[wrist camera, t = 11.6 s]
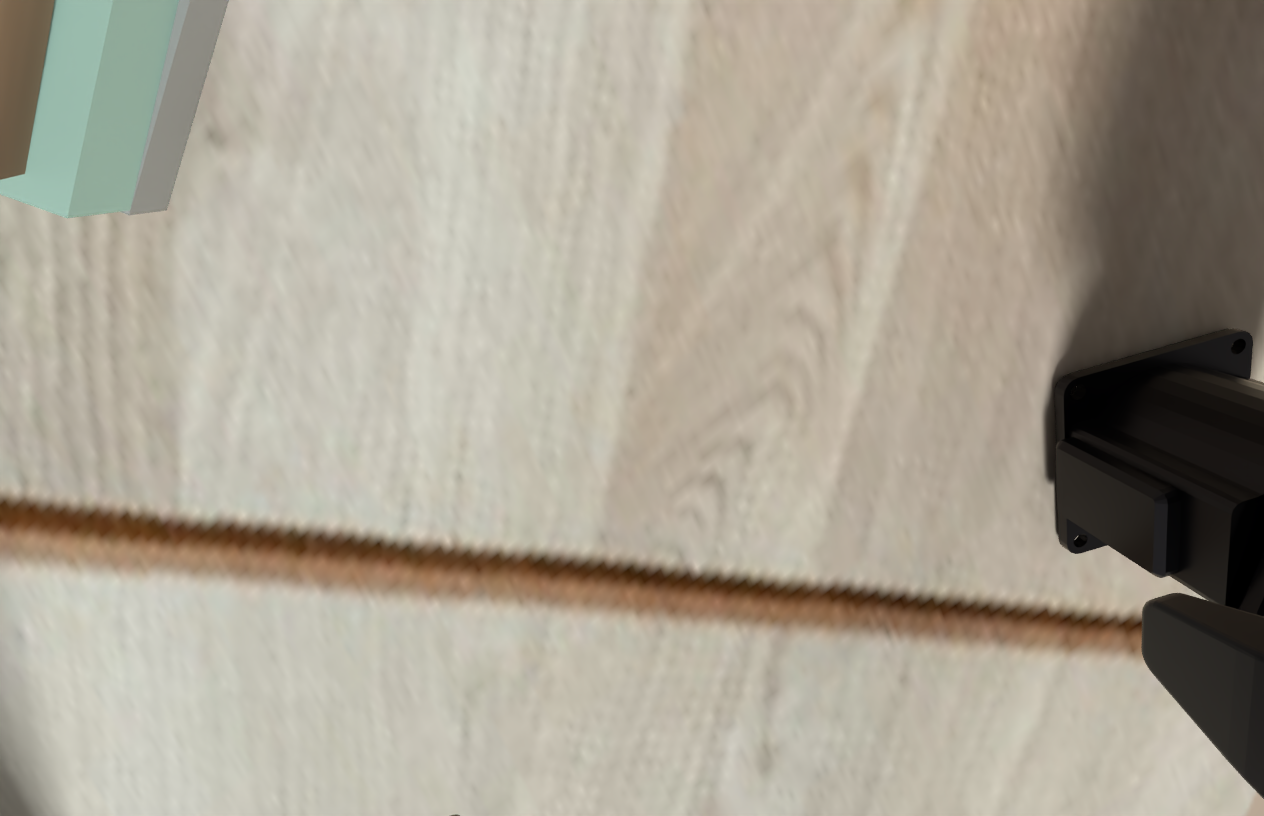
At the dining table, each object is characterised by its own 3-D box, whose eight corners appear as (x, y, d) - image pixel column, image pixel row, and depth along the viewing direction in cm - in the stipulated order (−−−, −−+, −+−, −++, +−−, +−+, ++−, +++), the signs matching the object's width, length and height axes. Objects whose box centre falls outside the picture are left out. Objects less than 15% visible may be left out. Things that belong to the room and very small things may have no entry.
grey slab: (255, -53, 17) (214, -87, 15) (176, 208, 18) (128, 214, 16) (-66, -220, 15) (-169, -288, 13) (-124, 84, 17) (-225, 72, 14)
